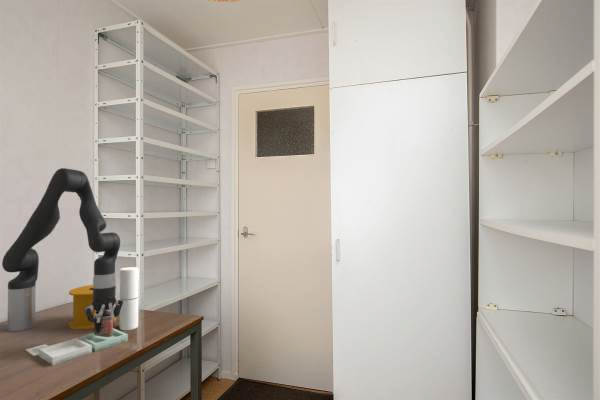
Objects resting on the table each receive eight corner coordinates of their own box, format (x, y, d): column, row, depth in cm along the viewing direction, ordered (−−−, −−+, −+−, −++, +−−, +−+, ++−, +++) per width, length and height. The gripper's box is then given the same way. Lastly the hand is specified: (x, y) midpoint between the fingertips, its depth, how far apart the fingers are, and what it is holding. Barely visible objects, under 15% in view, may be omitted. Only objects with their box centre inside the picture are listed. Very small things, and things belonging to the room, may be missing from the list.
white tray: (38, 355, 120) (38, 348, 120) (76, 344, 130) (76, 337, 130) (52, 365, 113) (52, 357, 113) (91, 352, 123) (91, 345, 123)
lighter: (115, 334, 132) (116, 308, 133) (108, 337, 129) (108, 310, 129) (99, 331, 135) (100, 306, 135) (91, 334, 132) (92, 308, 132)
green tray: (79, 343, 131) (79, 337, 131) (112, 333, 141) (112, 327, 141) (94, 351, 124) (94, 344, 124) (127, 340, 134) (127, 334, 134)
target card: (25, 350, 125) (25, 349, 125) (45, 344, 129) (45, 343, 129) (34, 356, 120) (34, 355, 120) (54, 350, 125) (54, 349, 125)
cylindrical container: (130, 330, 144) (131, 270, 144) (115, 329, 145) (116, 269, 146) (141, 324, 151) (142, 267, 151) (127, 323, 152) (127, 266, 153)
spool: (90, 314, 165) (90, 283, 165) (124, 316, 162) (125, 284, 162) (58, 328, 147) (58, 292, 147) (96, 330, 144) (96, 294, 144)
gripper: (118, 280, 140) (117, 323, 140) (79, 287, 129) (79, 333, 129) (127, 283, 136) (127, 327, 136) (89, 290, 124) (88, 338, 124)
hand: (103, 330), depth 132 cm, fingers closed on lighter, 3 cm apart
